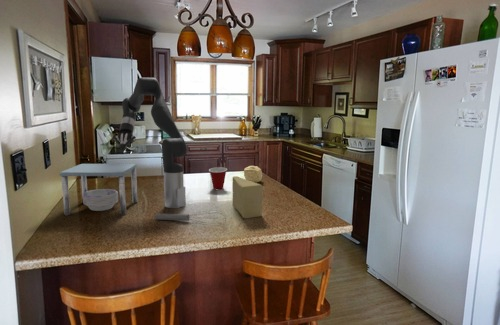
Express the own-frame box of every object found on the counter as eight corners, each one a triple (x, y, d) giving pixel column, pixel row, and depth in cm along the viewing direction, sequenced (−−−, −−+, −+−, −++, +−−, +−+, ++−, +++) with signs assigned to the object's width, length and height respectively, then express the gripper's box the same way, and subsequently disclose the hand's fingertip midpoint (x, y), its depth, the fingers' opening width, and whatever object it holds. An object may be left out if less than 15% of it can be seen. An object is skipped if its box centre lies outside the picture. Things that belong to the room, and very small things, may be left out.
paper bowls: (124, 204, 169) (123, 189, 168) (106, 214, 154) (105, 197, 153) (96, 202, 172) (95, 187, 170) (76, 212, 157) (75, 195, 156)
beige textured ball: (242, 183, 219) (242, 166, 217) (247, 179, 230) (247, 163, 228) (259, 184, 216) (259, 167, 214) (264, 180, 227) (264, 164, 225)
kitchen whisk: (155, 217, 152) (155, 203, 151) (228, 224, 145) (228, 209, 144) (148, 221, 146) (148, 207, 145) (224, 229, 139) (224, 214, 138)
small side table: (84, 201, 173) (81, 163, 170) (138, 201, 175) (136, 163, 172) (63, 215, 152) (59, 172, 148) (124, 215, 153) (122, 172, 150)
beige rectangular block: (224, 205, 170) (224, 176, 167) (242, 203, 174) (242, 174, 171) (242, 219, 150) (243, 186, 148) (262, 216, 154) (263, 184, 152)
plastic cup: (205, 189, 201) (205, 169, 199) (215, 185, 211) (215, 166, 209) (220, 191, 196) (220, 171, 194) (230, 187, 206) (230, 168, 204)
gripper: (113, 122, 195) (107, 147, 185) (137, 122, 196) (132, 146, 186) (117, 130, 201) (112, 154, 192) (140, 130, 202) (135, 154, 192)
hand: (122, 150), depth 189 cm, fingers closed
